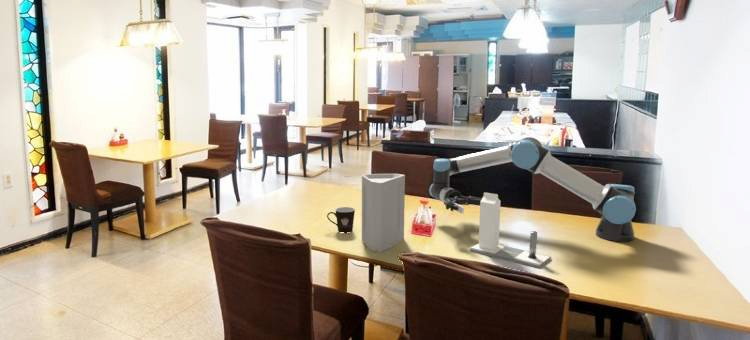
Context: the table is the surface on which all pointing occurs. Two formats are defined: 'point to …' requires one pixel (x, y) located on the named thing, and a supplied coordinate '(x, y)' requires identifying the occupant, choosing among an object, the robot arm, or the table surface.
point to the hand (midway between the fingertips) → (477, 208)
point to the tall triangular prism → (382, 210)
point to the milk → (489, 221)
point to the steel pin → (533, 244)
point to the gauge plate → (513, 255)
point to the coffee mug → (344, 219)
